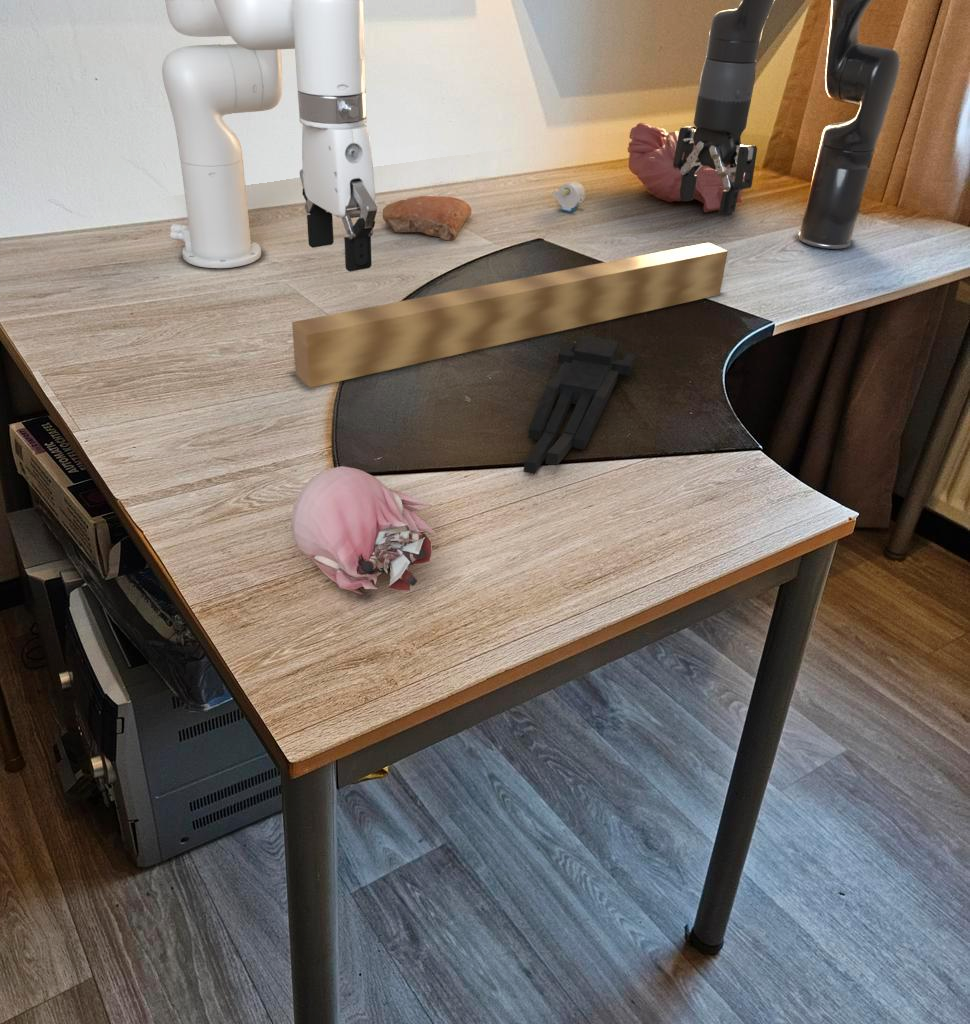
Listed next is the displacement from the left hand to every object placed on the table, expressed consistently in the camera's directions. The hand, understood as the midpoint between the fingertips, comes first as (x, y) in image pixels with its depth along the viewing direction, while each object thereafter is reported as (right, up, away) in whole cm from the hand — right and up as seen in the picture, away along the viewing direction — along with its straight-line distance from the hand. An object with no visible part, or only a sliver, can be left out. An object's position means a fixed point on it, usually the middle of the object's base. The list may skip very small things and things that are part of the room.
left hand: (339, 257), depth 117 cm
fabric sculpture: (+61, +37, +87) cm, 112 cm away
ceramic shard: (+7, +21, +59) cm, 63 cm away
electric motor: (+34, +28, +71) cm, 83 cm away
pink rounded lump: (+7, -37, -27) cm, 46 cm away
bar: (+24, -5, +22) cm, 33 cm away
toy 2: (+28, -20, 0) cm, 35 cm away
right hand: (+51, +15, +29) cm, 61 cm away
